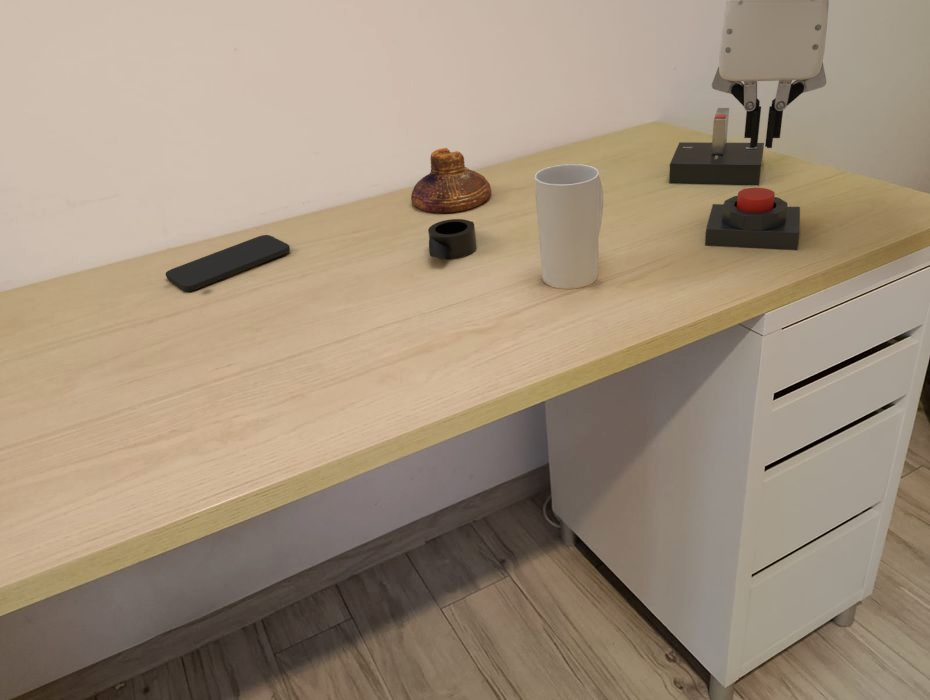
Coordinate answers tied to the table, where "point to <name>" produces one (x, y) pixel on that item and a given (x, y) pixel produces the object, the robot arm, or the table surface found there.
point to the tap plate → (716, 164)
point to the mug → (569, 224)
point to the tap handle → (720, 131)
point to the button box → (753, 226)
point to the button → (755, 200)
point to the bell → (450, 185)
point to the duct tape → (452, 239)
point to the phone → (226, 262)
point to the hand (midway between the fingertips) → (761, 143)
